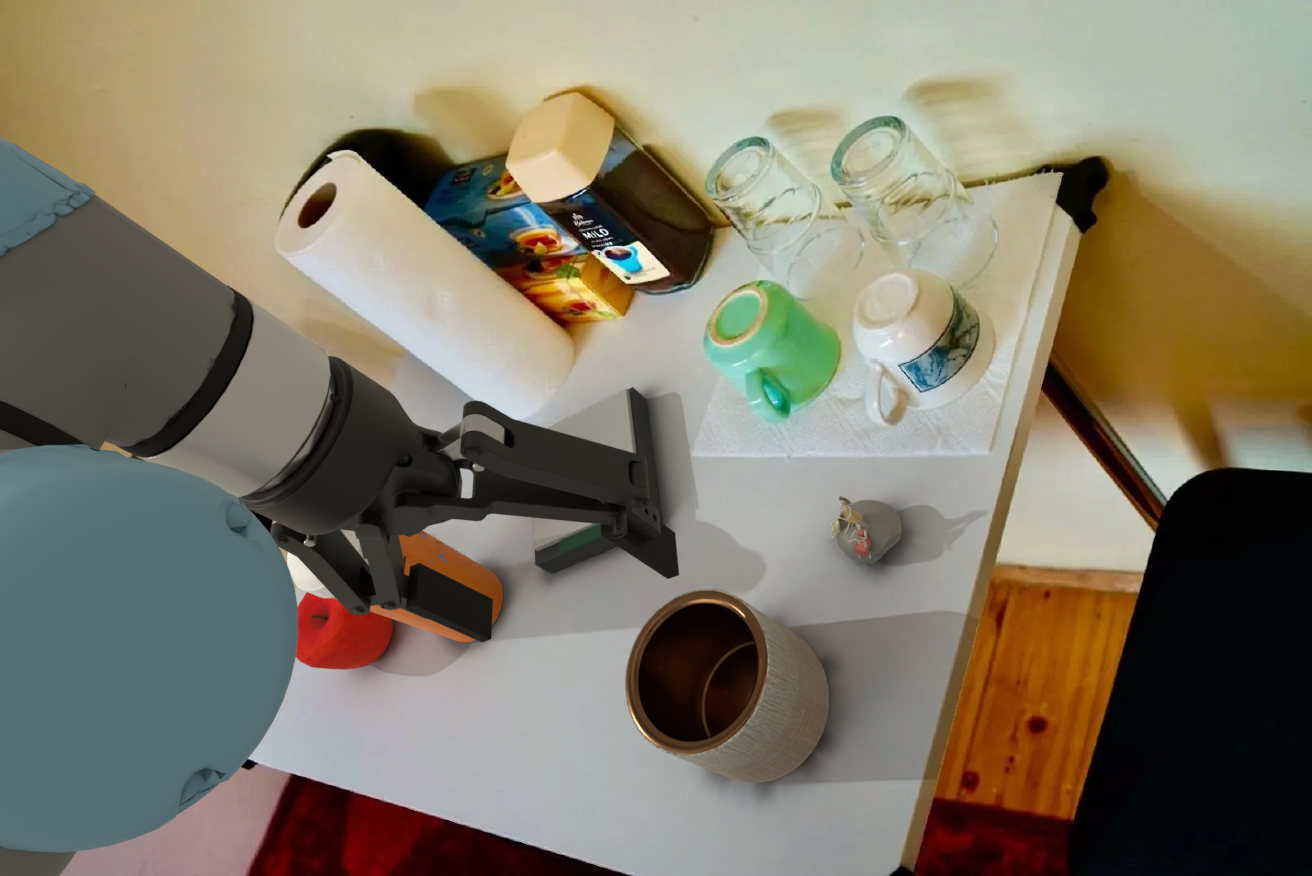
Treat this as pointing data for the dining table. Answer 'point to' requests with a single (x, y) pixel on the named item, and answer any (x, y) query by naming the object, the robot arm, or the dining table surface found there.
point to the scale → (573, 542)
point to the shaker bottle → (416, 551)
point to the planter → (726, 687)
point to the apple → (339, 635)
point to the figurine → (866, 529)
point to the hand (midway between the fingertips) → (575, 590)
